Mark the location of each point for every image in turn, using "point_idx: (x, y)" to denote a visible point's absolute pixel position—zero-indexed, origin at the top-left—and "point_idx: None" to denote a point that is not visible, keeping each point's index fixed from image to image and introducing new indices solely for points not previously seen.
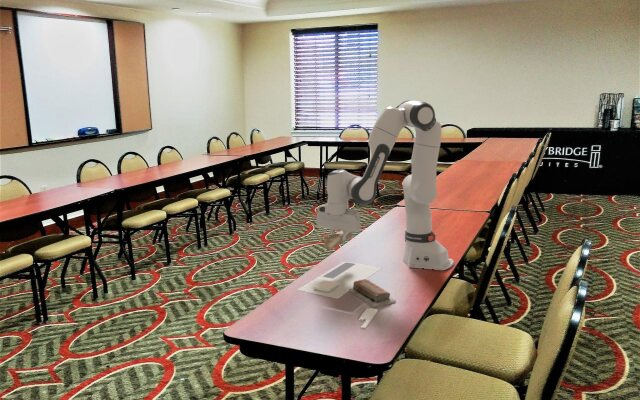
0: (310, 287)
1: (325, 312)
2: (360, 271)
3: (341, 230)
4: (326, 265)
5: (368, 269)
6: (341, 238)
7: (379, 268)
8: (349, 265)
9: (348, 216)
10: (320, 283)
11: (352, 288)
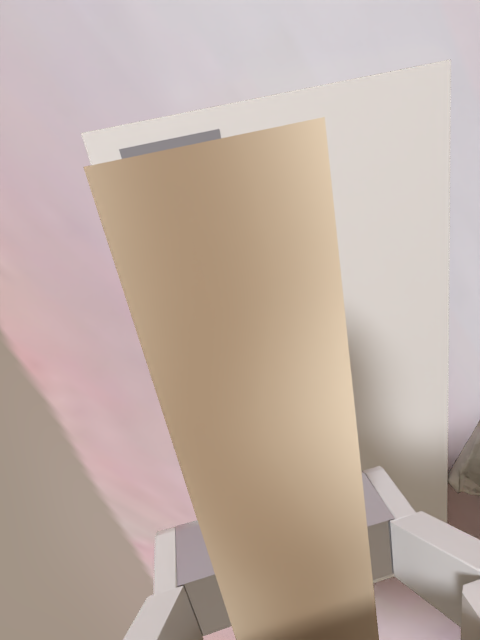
0: None
1: (459, 629)
2: (352, 245)
3: (172, 435)
4: (39, 302)
5: (379, 169)
6: None
7: (441, 90)
8: None
9: None
10: None
11: (447, 458)
